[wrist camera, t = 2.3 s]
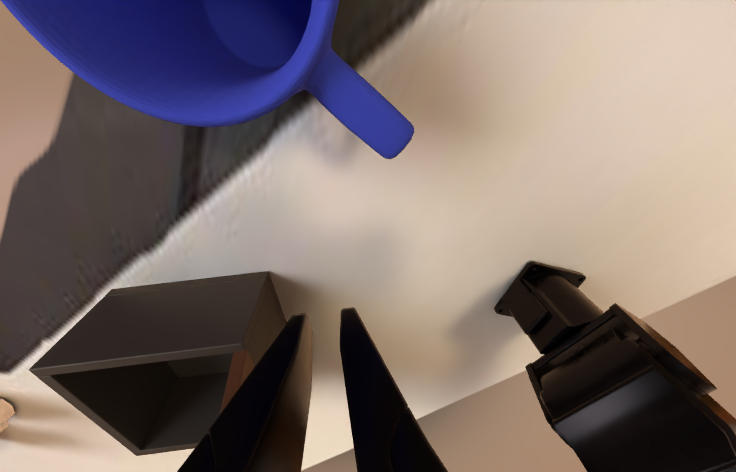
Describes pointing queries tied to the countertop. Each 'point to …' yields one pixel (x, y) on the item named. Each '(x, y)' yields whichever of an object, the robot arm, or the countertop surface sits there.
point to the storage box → (162, 357)
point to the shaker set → (5, 414)
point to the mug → (213, 60)
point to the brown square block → (237, 374)
